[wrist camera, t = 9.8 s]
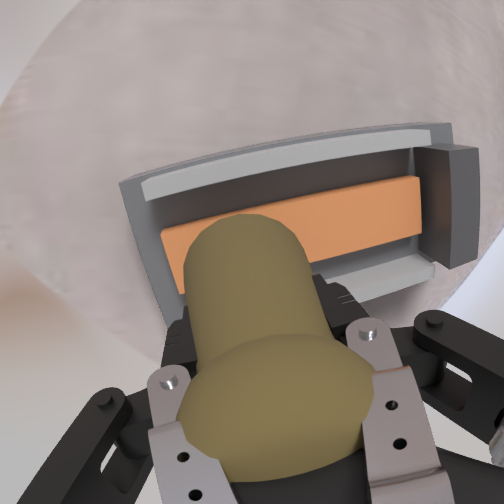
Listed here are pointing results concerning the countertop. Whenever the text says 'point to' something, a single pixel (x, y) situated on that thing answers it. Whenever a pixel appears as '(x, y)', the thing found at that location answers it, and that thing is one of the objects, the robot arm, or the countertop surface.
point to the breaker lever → (324, 220)
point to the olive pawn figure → (266, 357)
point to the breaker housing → (313, 181)
